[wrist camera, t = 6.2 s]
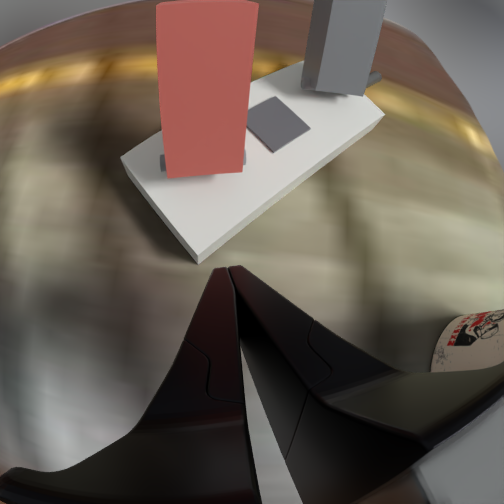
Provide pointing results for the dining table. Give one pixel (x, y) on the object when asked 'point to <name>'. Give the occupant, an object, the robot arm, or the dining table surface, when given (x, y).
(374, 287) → the dining table surface
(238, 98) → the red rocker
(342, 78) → the block
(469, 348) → the teacup with lid
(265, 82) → the power strip
